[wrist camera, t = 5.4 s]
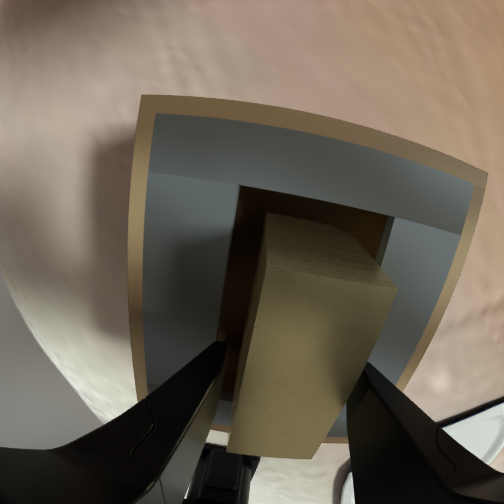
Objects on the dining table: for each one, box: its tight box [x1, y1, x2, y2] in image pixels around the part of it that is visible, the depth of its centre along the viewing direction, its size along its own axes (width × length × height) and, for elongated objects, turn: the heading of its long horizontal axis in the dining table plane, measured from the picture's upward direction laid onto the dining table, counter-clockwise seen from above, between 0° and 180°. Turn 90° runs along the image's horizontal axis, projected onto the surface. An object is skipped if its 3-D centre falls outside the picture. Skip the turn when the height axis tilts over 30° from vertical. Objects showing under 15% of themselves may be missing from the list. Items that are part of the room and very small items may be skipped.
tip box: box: [128, 95, 488, 443], centre depth 14 cm, size 14×12×7 cm
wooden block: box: [226, 213, 398, 459], centre depth 10 cm, size 7×3×5 cm, turn 171°
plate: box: [341, 402, 504, 504], centre depth 25 cm, size 25×25×2 cm
